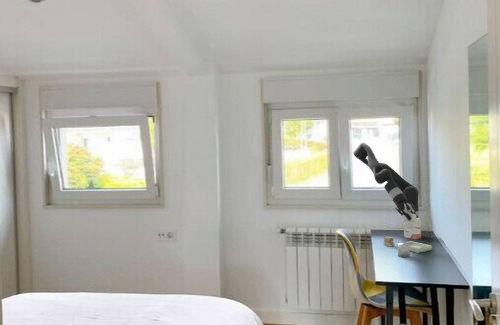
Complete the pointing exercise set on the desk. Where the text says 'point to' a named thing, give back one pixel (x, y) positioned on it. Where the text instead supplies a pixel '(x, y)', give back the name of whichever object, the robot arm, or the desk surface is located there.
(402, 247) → the steel tin
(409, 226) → the ink cartridge box
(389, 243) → the oak block
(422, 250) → the sage tray
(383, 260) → the desk surface
